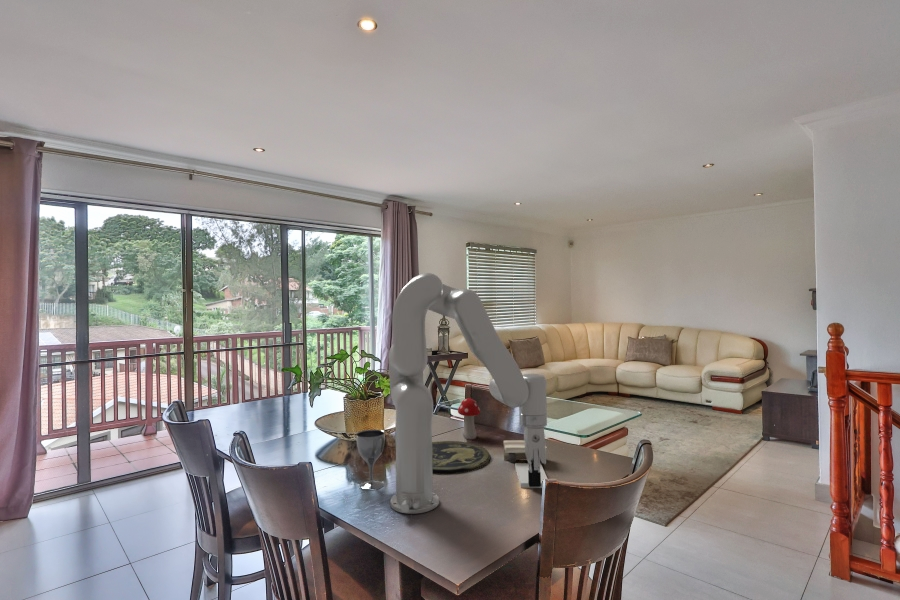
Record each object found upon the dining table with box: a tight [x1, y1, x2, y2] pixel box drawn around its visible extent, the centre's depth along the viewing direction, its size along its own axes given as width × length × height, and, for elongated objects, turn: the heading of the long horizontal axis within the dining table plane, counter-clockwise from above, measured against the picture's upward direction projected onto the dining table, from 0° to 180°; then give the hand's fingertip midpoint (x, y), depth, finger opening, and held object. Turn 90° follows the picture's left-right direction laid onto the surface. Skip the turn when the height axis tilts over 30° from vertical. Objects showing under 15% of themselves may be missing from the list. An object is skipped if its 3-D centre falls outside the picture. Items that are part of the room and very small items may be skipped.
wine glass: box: [356, 429, 386, 490], centre depth 133 cm, size 8×8×15 cm
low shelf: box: [503, 439, 548, 463], centre depth 150 cm, size 8×13×6 cm, turn 87°
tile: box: [514, 462, 548, 489], centre depth 137 cm, size 16×8×2 cm, turn 178°
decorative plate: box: [432, 440, 491, 475], centre depth 156 cm, size 30×2×30 cm
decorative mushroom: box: [457, 397, 481, 440], centre depth 180 cm, size 10×9×15 cm
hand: (534, 485), depth 128 cm, fingers closed
